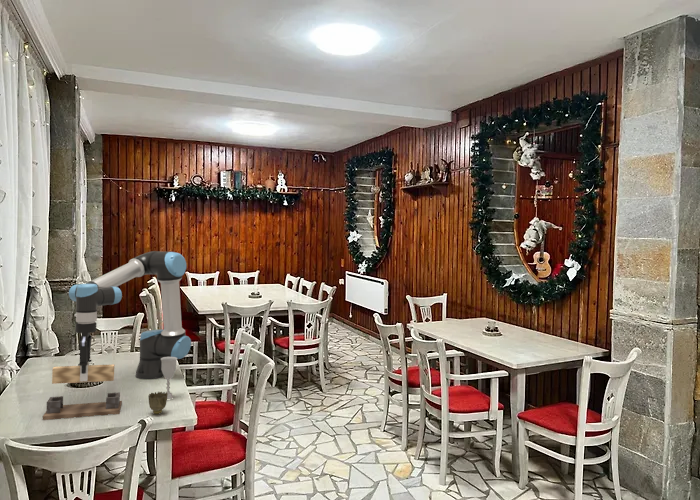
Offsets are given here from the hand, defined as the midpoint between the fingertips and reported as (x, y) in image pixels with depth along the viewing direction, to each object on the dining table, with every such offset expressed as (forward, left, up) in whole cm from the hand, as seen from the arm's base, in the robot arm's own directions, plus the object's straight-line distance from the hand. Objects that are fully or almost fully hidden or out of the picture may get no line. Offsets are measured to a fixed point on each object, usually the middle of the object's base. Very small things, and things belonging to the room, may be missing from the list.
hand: (84, 379), depth 202 cm
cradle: (0, 0, -13) cm, 13 cm away
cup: (-28, +9, -13) cm, 32 cm away
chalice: (-32, -9, -13) cm, 36 cm away
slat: (0, 0, -1) cm, 1 cm away
